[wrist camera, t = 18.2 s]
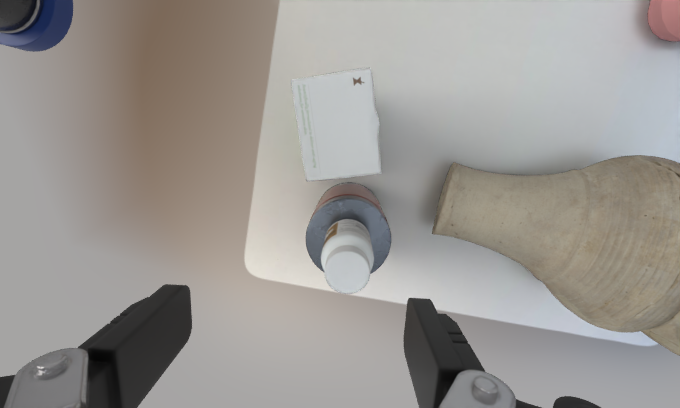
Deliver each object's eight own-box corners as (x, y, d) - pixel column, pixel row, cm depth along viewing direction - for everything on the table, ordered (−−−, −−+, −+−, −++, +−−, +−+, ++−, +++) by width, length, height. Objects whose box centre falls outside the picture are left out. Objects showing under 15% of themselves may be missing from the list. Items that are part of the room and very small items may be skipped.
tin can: (315, 242, 42) (304, 278, 32) (317, 180, 41) (305, 196, 30) (378, 245, 42) (388, 282, 31) (382, 183, 40) (394, 200, 30)
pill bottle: (324, 218, 30) (316, 245, 23) (370, 217, 30) (377, 244, 23) (325, 260, 31) (318, 300, 24) (370, 260, 31) (376, 300, 23)
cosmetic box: (310, 98, 38) (285, 72, 23) (364, 91, 38) (374, 61, 23) (319, 165, 40) (301, 183, 25) (371, 159, 40) (384, 174, 25)
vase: (368, 311, 30) (719, 438, 24) (432, 70, 22) (985, 167, 16) (398, 227, 50) (595, 284, 43) (438, 83, 42) (686, 128, 35)
